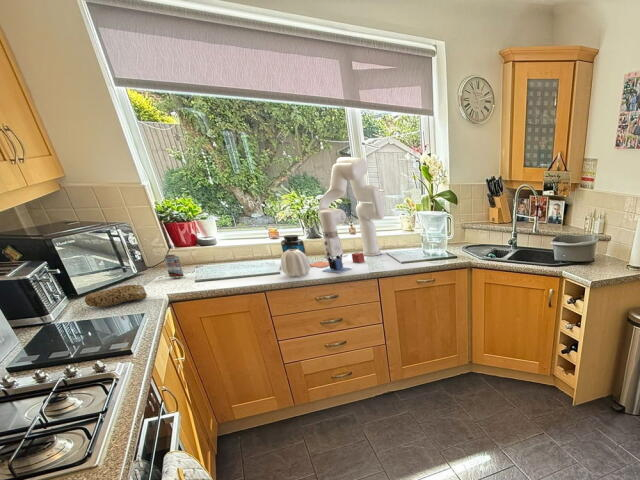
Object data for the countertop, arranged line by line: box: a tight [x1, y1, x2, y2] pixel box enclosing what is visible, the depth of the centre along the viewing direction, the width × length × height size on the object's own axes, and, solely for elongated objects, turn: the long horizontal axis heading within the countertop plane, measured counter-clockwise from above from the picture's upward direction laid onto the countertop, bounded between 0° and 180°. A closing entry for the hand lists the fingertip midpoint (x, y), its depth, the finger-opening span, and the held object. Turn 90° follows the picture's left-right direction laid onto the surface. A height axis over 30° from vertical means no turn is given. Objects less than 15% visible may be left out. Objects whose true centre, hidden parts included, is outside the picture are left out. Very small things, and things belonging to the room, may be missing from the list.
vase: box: [280, 249, 311, 277], centre depth 222 cm, size 14×14×13 cm
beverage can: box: [163, 253, 185, 279], centre depth 213 cm, size 6×7×12 cm
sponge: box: [83, 284, 148, 308], centre depth 177 cm, size 13×8×20 cm
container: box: [280, 234, 307, 256], centre depth 243 cm, size 12×12×16 cm
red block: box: [351, 252, 365, 264], centre depth 255 cm, size 5×5×5 cm
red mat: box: [309, 261, 330, 269], centre depth 247 cm, size 11×11×1 cm
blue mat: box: [322, 266, 352, 274], centre depth 236 cm, size 11×11×1 cm
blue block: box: [328, 257, 344, 269], centre depth 235 cm, size 5×5×5 cm
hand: (336, 267), depth 236 cm, fingers closed on blue block, 5 cm apart
